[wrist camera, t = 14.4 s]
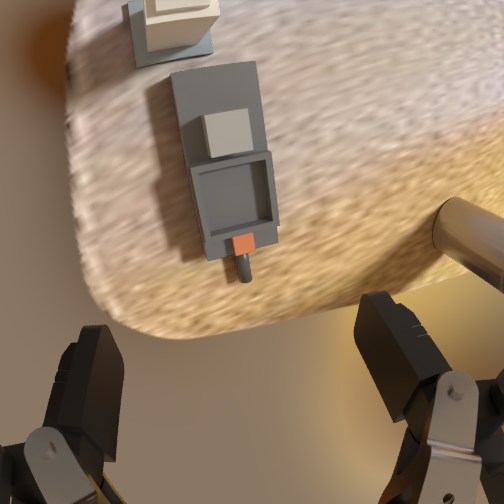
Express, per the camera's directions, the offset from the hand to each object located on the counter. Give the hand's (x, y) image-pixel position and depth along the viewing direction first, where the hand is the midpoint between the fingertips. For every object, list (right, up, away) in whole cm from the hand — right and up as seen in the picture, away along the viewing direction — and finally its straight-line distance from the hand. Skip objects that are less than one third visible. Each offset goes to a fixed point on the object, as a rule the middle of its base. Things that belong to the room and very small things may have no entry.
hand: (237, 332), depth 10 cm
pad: (-7, +23, +13) cm, 27 cm away
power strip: (-2, +10, +22) cm, 24 cm away
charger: (-7, +22, +13) cm, 27 cm away
